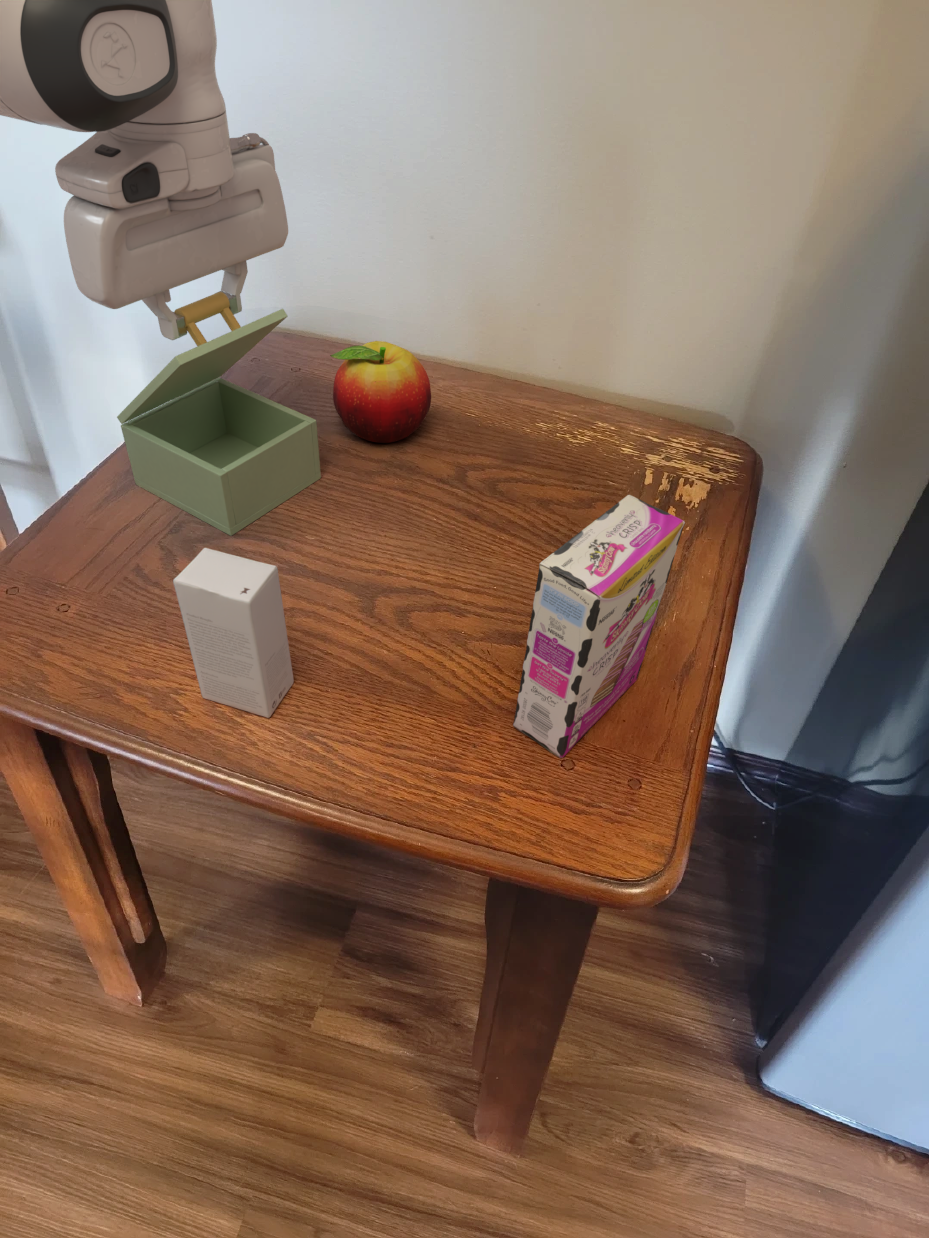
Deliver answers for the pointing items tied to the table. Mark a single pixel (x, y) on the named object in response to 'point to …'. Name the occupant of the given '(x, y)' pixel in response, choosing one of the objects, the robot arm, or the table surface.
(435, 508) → the table surface
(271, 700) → the cosmetic box
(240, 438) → the chest
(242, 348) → the lid
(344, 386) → the fruit
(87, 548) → the table surface
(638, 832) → the table surface
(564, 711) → the candy bar box
